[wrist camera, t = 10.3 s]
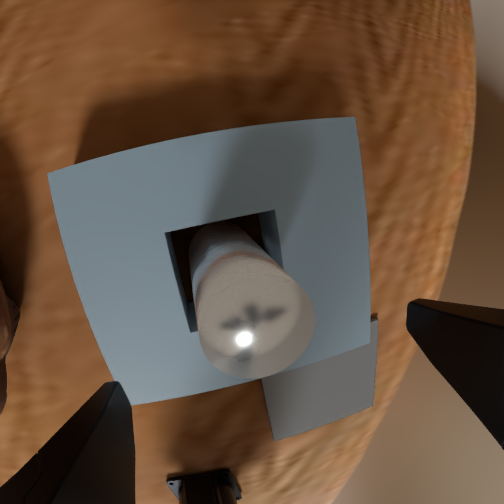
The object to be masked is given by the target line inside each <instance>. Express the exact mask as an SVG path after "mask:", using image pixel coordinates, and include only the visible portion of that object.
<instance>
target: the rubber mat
mask: <svg viewBox="0 0 504 504" xmlns="http://www.w3.org/2000/svg"><path fill="white" fill-rule="evenodd" d="M377 342H378V319H377V318H373V319H370V343H368V344H366V345H363V346H360V347H358V348H355V349H352V350H349V351H347V352H344V353H341V354H338V355H335V356H332V357H329V358H327V359H324V360H321V361H317V362H314V363H311V364H308V365H305V366H302V367H299V368H295V369H292V370H289V371H285V372H282V373H279V374H275V375H272V376H268V377H264V378H261V381H262V386H263V391H264V396H265V401H266V405H267V410H268V415H269V420H270V425H271V430H272V435H273V439H274V441H277V440H281V439H284V438H287V437H291V436H294V435H297V434H300V433H303V432H306V431H309V430H312V429H315V428H318V427H321V426H323V425H326V424H329V423H331V422H334V421H337V420H339V419H342V418H344V417H347V416H349V415H352V414H354V413H357V412H359V411H362V410H364V409H366V408H369V407H371V406H373V399H374V388H375V376H376V361H377Z"/></svg>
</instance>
